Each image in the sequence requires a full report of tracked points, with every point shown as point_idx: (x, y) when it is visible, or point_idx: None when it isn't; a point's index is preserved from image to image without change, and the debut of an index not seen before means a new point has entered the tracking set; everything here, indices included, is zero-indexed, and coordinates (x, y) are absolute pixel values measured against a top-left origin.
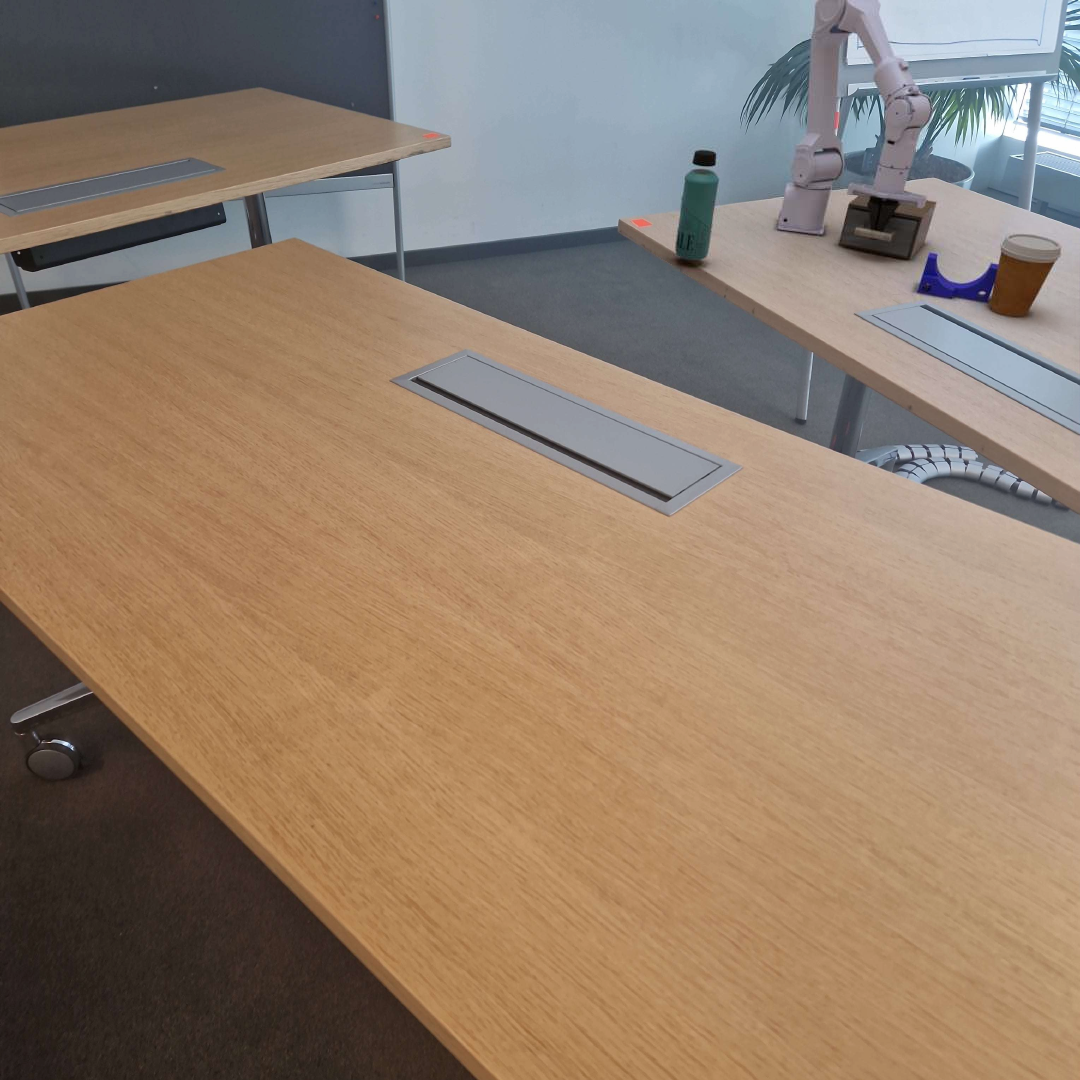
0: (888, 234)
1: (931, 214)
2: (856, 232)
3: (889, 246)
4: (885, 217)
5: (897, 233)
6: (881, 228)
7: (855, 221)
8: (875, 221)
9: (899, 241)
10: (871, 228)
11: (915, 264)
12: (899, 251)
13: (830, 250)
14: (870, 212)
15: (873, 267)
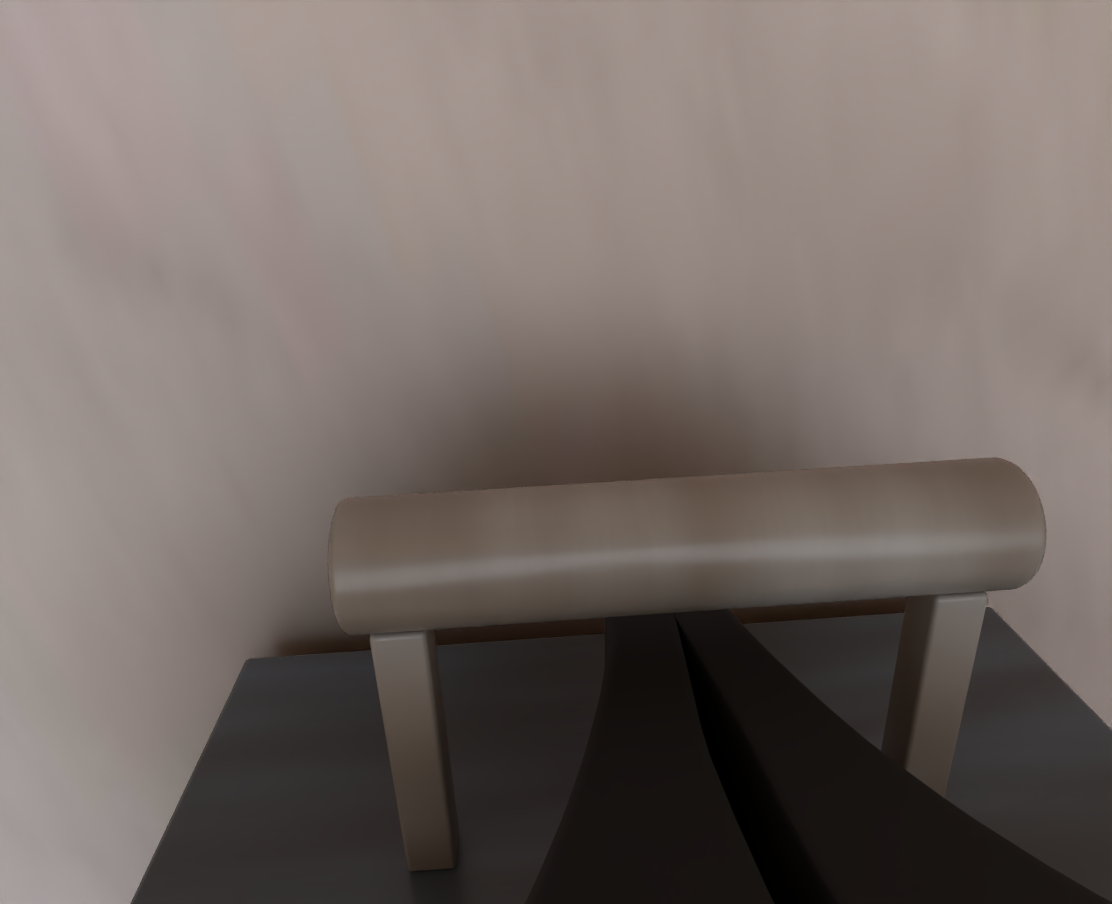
0: (395, 561)
1: None
2: (972, 463)
3: (455, 691)
4: (589, 876)
5: (380, 844)
6: (597, 708)
7: (1067, 838)
8: (775, 765)
9: (338, 763)
10: (770, 667)
11: (136, 610)
12: (328, 678)
13: (1050, 428)
14: (1048, 894)
15: (457, 164)
